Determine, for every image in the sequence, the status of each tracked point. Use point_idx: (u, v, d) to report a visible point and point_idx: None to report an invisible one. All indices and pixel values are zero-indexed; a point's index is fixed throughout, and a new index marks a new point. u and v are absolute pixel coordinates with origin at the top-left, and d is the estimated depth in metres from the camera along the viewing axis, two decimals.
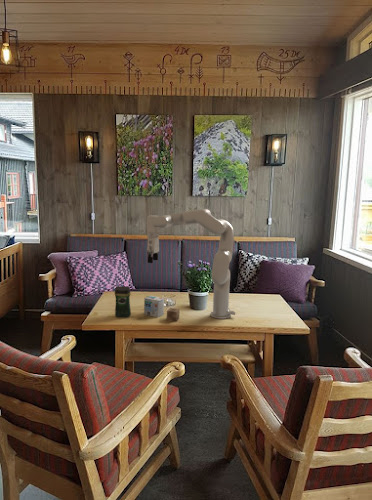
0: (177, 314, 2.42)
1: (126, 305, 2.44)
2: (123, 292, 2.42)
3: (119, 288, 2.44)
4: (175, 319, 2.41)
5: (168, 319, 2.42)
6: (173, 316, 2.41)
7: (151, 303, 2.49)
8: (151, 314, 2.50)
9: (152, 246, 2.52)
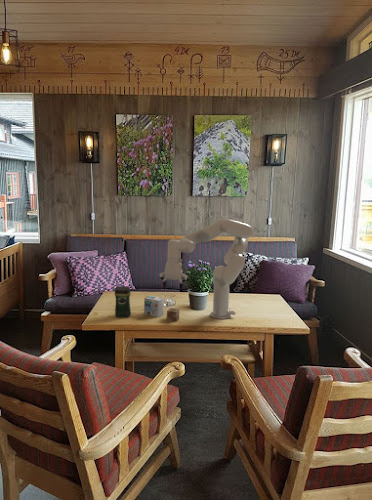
0: (177, 314, 2.42)
1: (126, 305, 2.44)
2: (123, 292, 2.42)
3: (119, 288, 2.44)
4: (175, 319, 2.41)
5: (168, 319, 2.42)
6: (173, 316, 2.41)
7: (151, 303, 2.49)
8: (151, 314, 2.50)
9: None
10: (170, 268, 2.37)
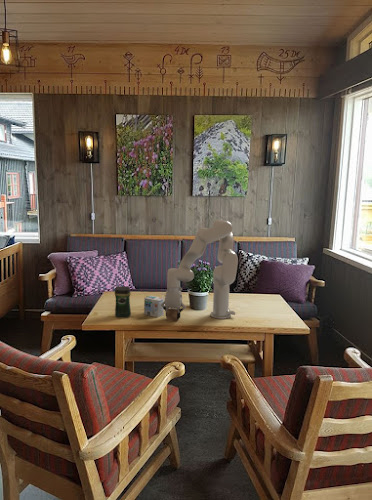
0: None
1: (126, 305, 2.44)
2: (123, 292, 2.42)
3: (119, 288, 2.44)
4: (175, 319, 2.41)
5: (168, 319, 2.42)
6: (173, 316, 2.41)
7: (151, 303, 2.49)
8: (151, 314, 2.50)
9: None
10: (170, 297, 2.40)
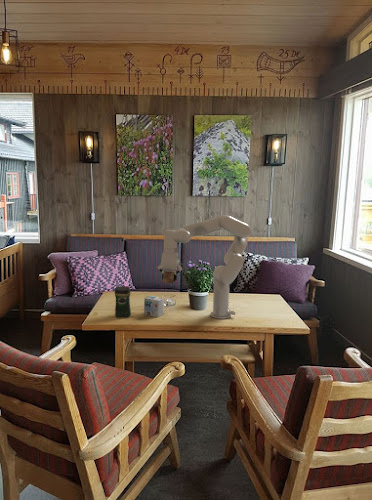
0: None
1: (126, 305, 2.44)
2: (123, 292, 2.42)
3: (119, 288, 2.44)
4: (171, 281, 2.38)
5: (164, 281, 2.40)
6: (169, 278, 2.39)
7: (151, 303, 2.49)
8: (151, 314, 2.50)
9: (178, 261, 2.40)
10: (166, 258, 2.38)
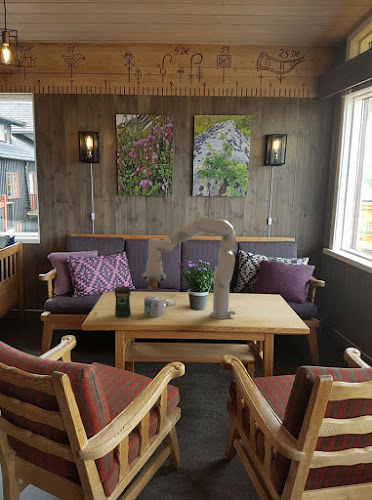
0: None
1: (126, 305, 2.44)
2: (123, 292, 2.42)
3: (119, 288, 2.44)
4: (155, 288, 2.46)
5: (149, 288, 2.47)
6: (153, 285, 2.46)
7: (151, 303, 2.49)
8: (151, 314, 2.50)
9: (162, 269, 2.48)
10: (150, 266, 2.46)
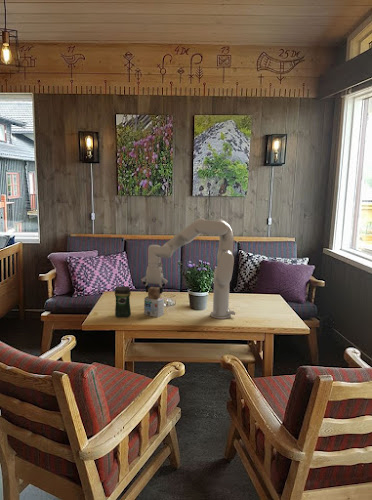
0: (158, 292, 2.49)
1: (126, 305, 2.44)
2: (123, 292, 2.42)
3: (119, 288, 2.43)
4: (156, 297, 2.47)
5: (149, 297, 2.48)
6: (154, 294, 2.47)
7: (151, 303, 2.49)
8: (151, 314, 2.50)
9: (162, 275, 2.49)
10: (150, 272, 2.46)
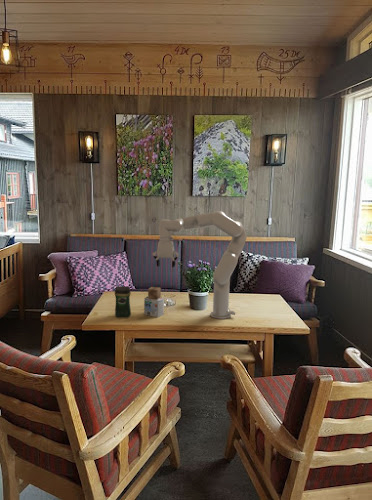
0: (158, 292, 2.49)
1: (126, 305, 2.44)
2: (123, 292, 2.42)
3: (119, 288, 2.43)
4: (156, 297, 2.47)
5: (149, 297, 2.48)
6: (154, 294, 2.47)
7: (151, 303, 2.49)
8: (151, 314, 2.50)
9: None
10: (162, 247, 2.49)
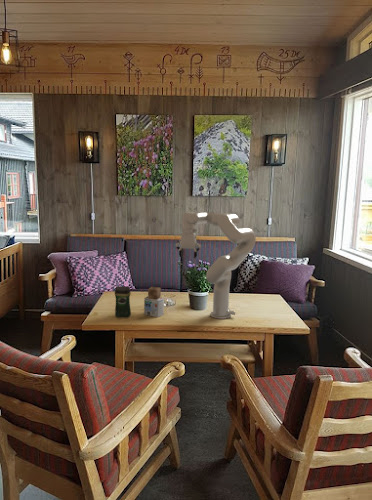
0: (158, 292, 2.49)
1: (126, 305, 2.44)
2: (123, 292, 2.42)
3: (119, 288, 2.43)
4: (156, 297, 2.47)
5: (149, 297, 2.49)
6: (154, 294, 2.47)
7: (151, 303, 2.49)
8: (151, 314, 2.50)
9: None
10: (185, 238, 2.61)
